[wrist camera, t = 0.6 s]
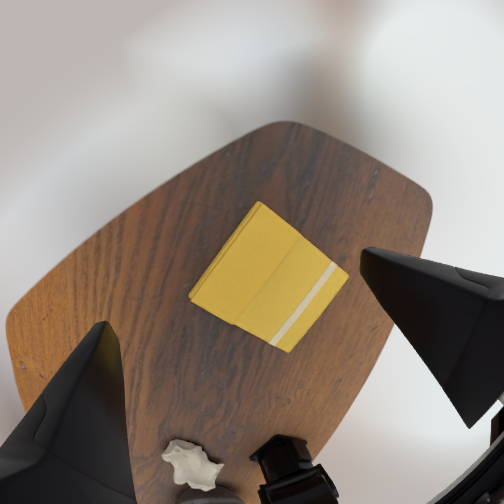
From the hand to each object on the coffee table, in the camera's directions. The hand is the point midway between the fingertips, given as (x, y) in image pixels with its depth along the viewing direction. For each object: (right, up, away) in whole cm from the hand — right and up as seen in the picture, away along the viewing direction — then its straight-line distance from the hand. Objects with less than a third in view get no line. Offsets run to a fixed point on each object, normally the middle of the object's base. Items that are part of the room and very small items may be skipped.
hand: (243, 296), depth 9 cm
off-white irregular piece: (-8, -26, +21) cm, 35 cm away
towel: (+2, -2, +17) cm, 17 cm away
